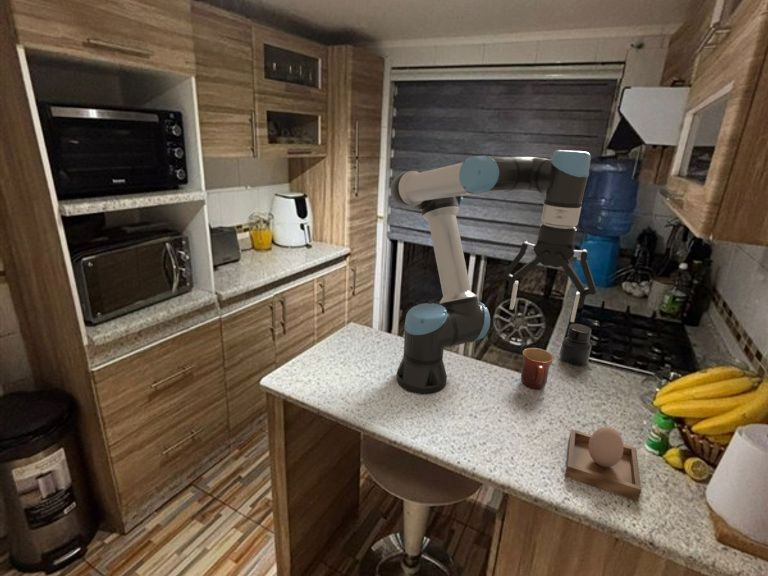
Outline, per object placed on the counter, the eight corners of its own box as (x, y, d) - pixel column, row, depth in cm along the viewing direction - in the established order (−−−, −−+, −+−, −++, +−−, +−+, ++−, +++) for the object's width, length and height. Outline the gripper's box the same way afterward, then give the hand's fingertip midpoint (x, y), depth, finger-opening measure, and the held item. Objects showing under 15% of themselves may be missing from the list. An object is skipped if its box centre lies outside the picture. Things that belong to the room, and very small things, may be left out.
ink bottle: (592, 360, 142) (600, 328, 138) (583, 369, 136) (591, 336, 132) (564, 350, 148) (570, 319, 144) (554, 359, 142) (560, 327, 138)
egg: (622, 464, 94) (632, 428, 91) (612, 479, 90) (622, 443, 87) (591, 448, 99) (600, 414, 96) (580, 462, 94) (588, 427, 91)
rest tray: (565, 476, 92) (567, 466, 91) (568, 439, 103) (571, 429, 102) (637, 501, 86) (641, 490, 85) (633, 458, 98) (636, 447, 97)
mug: (516, 375, 131) (521, 346, 128) (545, 379, 130) (551, 349, 126) (520, 396, 120) (525, 365, 117) (552, 401, 119) (558, 369, 115)
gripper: (497, 220, 93) (485, 307, 100) (623, 236, 83) (599, 331, 90) (504, 215, 99) (491, 298, 107) (621, 229, 89) (599, 319, 97)
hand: (541, 313), depth 98 cm, fingers open, 13 cm apart
